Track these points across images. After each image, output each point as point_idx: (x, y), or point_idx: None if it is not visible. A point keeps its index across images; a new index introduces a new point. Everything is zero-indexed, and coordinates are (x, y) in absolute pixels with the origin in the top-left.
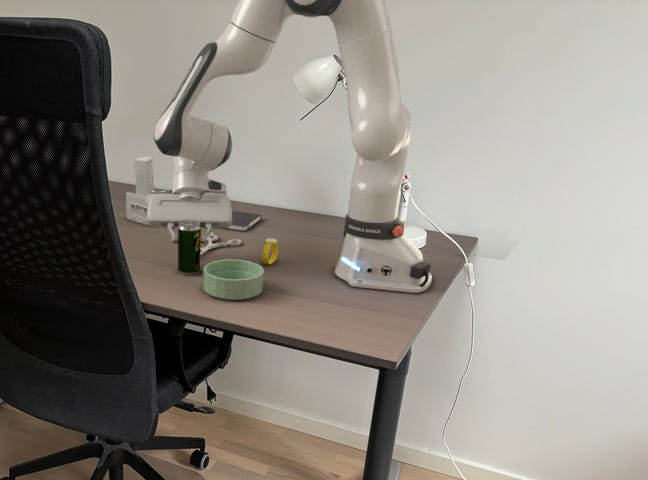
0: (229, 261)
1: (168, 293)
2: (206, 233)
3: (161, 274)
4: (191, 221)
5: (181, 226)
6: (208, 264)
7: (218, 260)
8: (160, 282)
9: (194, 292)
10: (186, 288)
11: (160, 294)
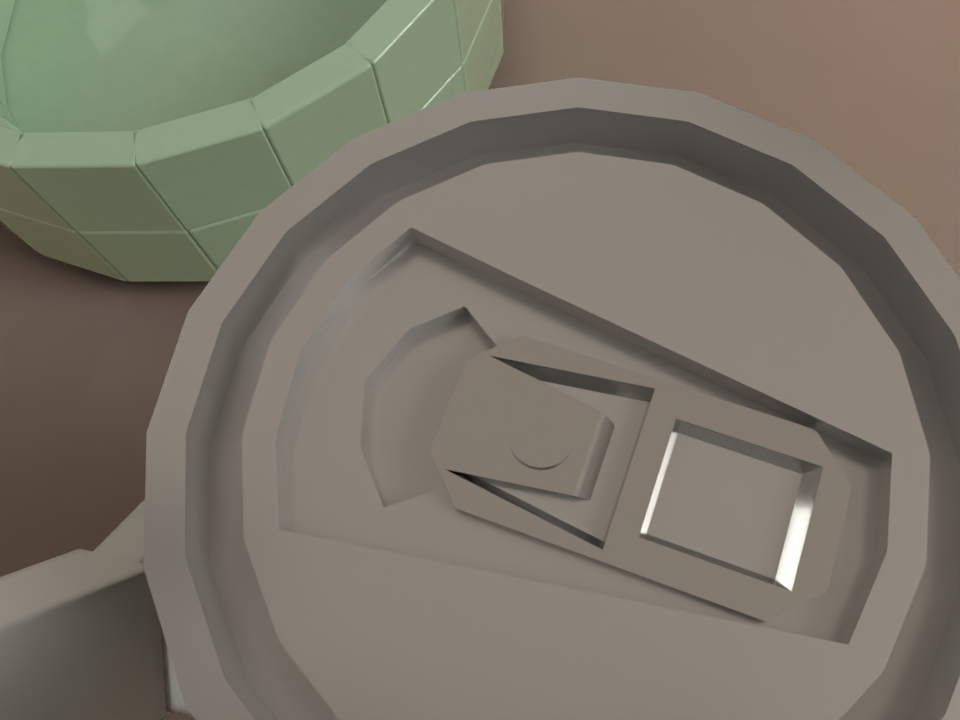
0: (63, 140)
1: (852, 43)
2: (83, 561)
3: None
4: (438, 688)
5: (904, 285)
6: (384, 20)
7: (203, 141)
8: None
9: (593, 39)
10: None
11: (933, 30)
